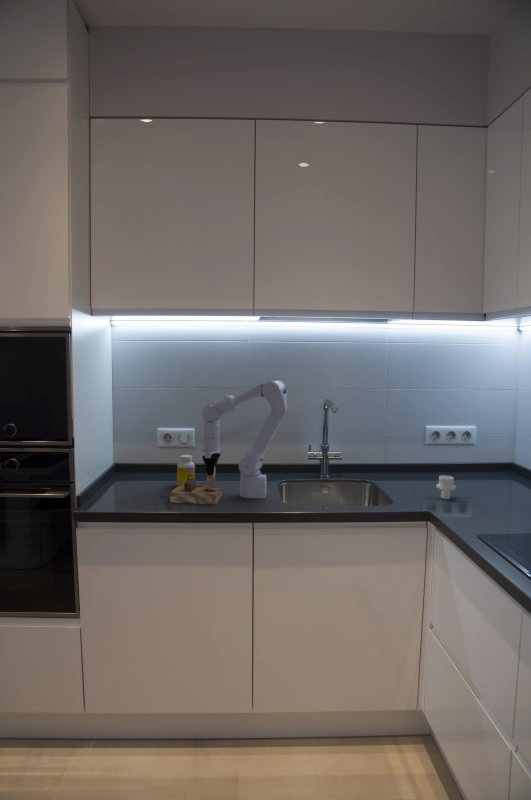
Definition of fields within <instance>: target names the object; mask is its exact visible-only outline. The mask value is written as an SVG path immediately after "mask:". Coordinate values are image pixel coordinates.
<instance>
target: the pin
mask: <svg viewBox="0 0 531 800" xmlns="http://www.w3.org/2000/svg"><path fill="white" fill-rule="evenodd" d="M206 486H216V471H215V469H214V474H213V475H207V474H206Z"/></svg>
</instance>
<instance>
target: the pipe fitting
mask: <svg viewBox="0 0 531 800" xmlns="http://www.w3.org/2000/svg"><path fill="white" fill-rule="evenodd" d="M454 480H455V478H454V477H453V476H451V475H439V476H438V484H436V485H435V488H437V489H439V490H441V491H440V498H441V499H442V498H443V500H450V498H451V491H455V490H456V489H457V486H456V485H454V483H455V481H454Z"/></svg>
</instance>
